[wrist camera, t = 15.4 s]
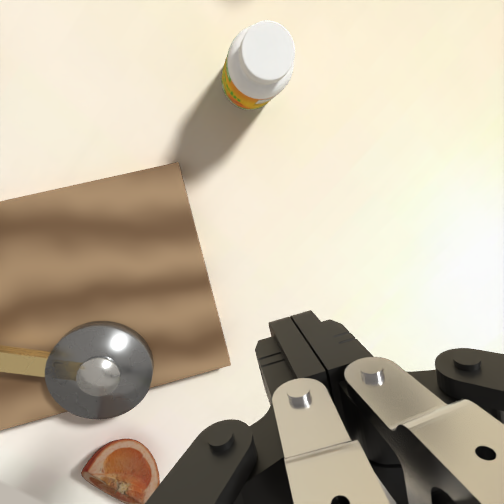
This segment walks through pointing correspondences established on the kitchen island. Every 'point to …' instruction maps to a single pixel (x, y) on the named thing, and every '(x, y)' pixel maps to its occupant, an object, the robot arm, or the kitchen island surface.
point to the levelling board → (105, 278)
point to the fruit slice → (123, 471)
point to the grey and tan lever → (90, 369)
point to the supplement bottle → (258, 65)
